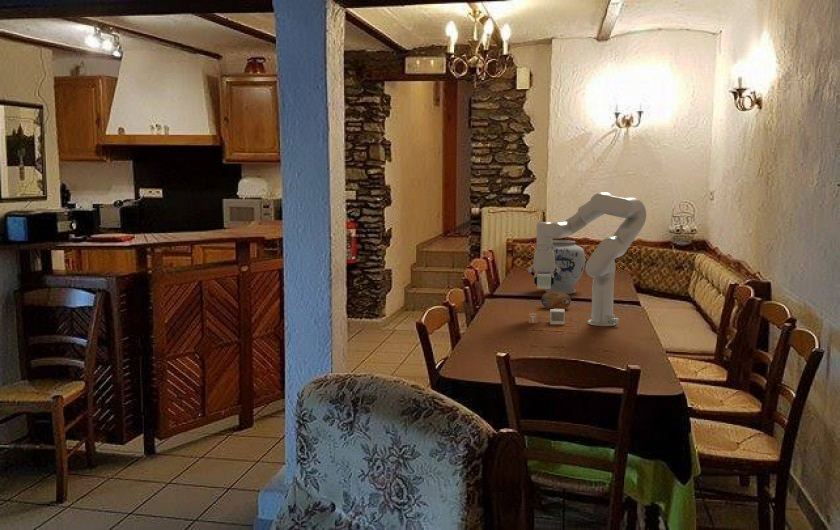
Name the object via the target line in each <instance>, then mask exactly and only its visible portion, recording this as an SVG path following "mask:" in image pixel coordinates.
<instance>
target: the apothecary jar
mask: <svg viewBox="0 0 840 530" xmlns="http://www.w3.org/2000/svg"><path fill="white" fill-rule="evenodd" d="M553 246H556V249H552V251H554V254H555V264H556V265H557V266H558V267H559V268H560V269H561V271H560V272H559V273H558V274H557V275H556V276H555V277H554V284H552V286H551V289H544V290H545V293H547V292H554V293H566V294H568V295H572V294H576V292H577V290H576V289H575V288H574V287H575V285H576V283H578V282H579V280H580V278H582V275H583V274H584V271H585V267H586V255H585V250H584V248H583V247H581V246H579V245H577V244H576V241H575V240H567V239H566V240H565V239H564V240H563V239H562V240H561V239H559V240H556V239H553ZM556 271H557V269H556V268H555V271H554V272H553V274H554V273H555V272H556ZM539 273H540V274H550V272H539ZM550 275H551V274H550Z"/></svg>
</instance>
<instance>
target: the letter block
mask: <svg viewBox="0 0 840 530" xmlns="http://www.w3.org/2000/svg"><path fill="white" fill-rule="evenodd" d="M528 324H538V313H536V312H529V313H528Z"/></svg>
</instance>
